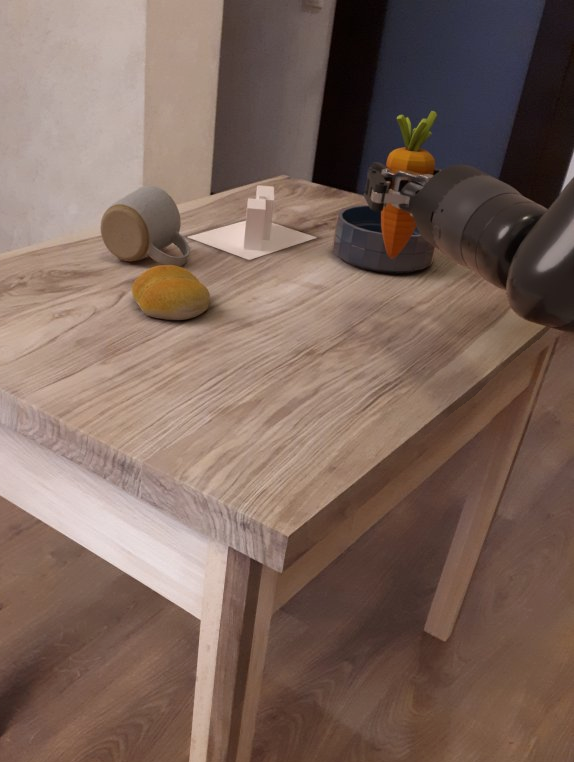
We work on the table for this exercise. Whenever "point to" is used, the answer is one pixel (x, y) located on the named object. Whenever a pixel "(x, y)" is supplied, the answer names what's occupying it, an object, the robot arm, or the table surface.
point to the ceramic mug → (144, 227)
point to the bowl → (376, 243)
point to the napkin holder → (254, 230)
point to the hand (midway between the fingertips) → (397, 172)
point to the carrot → (410, 157)
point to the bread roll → (170, 293)
